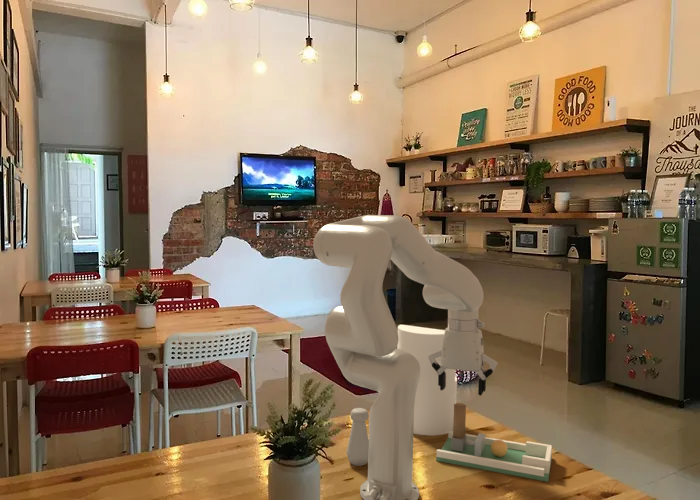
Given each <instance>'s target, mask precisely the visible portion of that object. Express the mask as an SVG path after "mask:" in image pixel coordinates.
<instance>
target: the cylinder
mask: <svg viewBox="0 0 700 500" xmlns="http://www.w3.org/2000/svg"><path fill="white" fill-rule="evenodd" d="M397 331H398V337H399V340H398V345H397V347H396V349H400V350H403V351H406V352H408V353H410V354H412V355H413V356H414V357H415V358H416V359H417V361H418V363H419V366H420V377H419V382H418V387H417V391H416V397H415V406H414V432H413V435H419V436H441V435H442V436H443V435H446V434H448V433H449V431H452V432H453V420H454V404H457V393H458V392H457V389H458V388H457V386H458V378H457V376H456V370H455V369H448V368H446V369H445V370H444V371H445V373H446V387H445V388H444V390H440V386H438V374H437V372H436V370H435V369H434V368H433V367H432V364H431V363H430V360H429V358H428V356H429V355H430V354H433V353H435V352H438V351H440V350H442V345H443V338H444V333H445V329H439V328H438V329H437V328H430V327H422V326H415V325H408V324H399V325H398V326H397ZM436 362H437V363H438V364H439V365H440V366H442V364H441V356H440V357H437V358H436Z"/></svg>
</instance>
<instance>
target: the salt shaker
mask: <svg viewBox="0 0 700 500" xmlns="http://www.w3.org/2000/svg"><path fill="white" fill-rule="evenodd" d="M350 419H351V420H352V423H351V428H350V434H349V438H348V443H347V449H346V456H347V460H348V461H349V463H350V464H352V466H358V467H362V466H364V465H368V449H369V433H368V429H367V423H366V421H367V420H369V411H368V410H367V409H366V408H363V407H355V408H353V409H352V410H351V411H350Z"/></svg>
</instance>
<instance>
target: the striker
mask: <svg viewBox="0 0 700 500" xmlns="http://www.w3.org/2000/svg"><path fill="white" fill-rule="evenodd" d="M466 414H467V405H466V404H465V403H460V402H459V403H458V402H456V404H454V420H453V431H452V432H453V436H452V438H451V450H456V451H461V452H463V451H464V449H465V447H466V446H472V447H475V449H474V456H480V457H481V454H482V452H483V450H484V448H485V437H486V434H485V433H480V432H479V433H478V435H476V436H477V438H476V440H475V441H471V440H466V434H467V433H466V421H467V417H466V416H467V415H466Z"/></svg>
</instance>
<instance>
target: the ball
mask: <svg viewBox="0 0 700 500" xmlns="http://www.w3.org/2000/svg"><path fill="white" fill-rule="evenodd" d="M502 440H503V439H500V440H495V441H494V442H493V443H492V444H491V451H492V453H493V454H494V455H495V456H498V457H502V456H504V455H505V454H506V453H507V450H508V448H507V445H506V443H505V442H504V441H502Z"/></svg>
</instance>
